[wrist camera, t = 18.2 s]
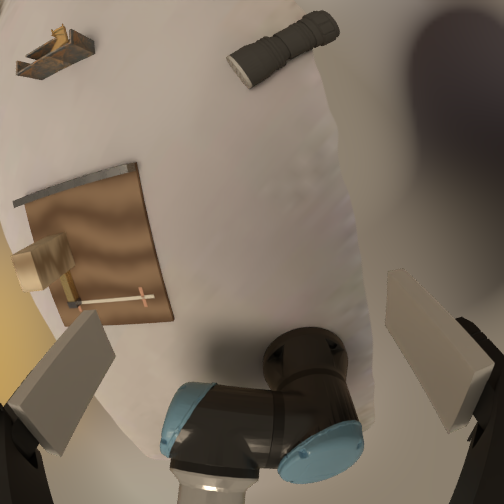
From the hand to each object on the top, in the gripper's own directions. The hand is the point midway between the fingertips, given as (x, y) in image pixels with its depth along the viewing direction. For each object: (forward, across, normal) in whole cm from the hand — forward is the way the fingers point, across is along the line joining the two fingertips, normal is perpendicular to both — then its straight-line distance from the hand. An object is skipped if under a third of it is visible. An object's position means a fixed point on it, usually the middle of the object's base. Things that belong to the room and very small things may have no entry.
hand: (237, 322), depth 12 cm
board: (+32, +28, +5) cm, 42 cm away
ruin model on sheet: (+32, +26, -29) cm, 51 cm away
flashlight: (+32, -8, -20) cm, 39 cm away
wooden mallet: (+31, +34, +6) cm, 46 cm away
